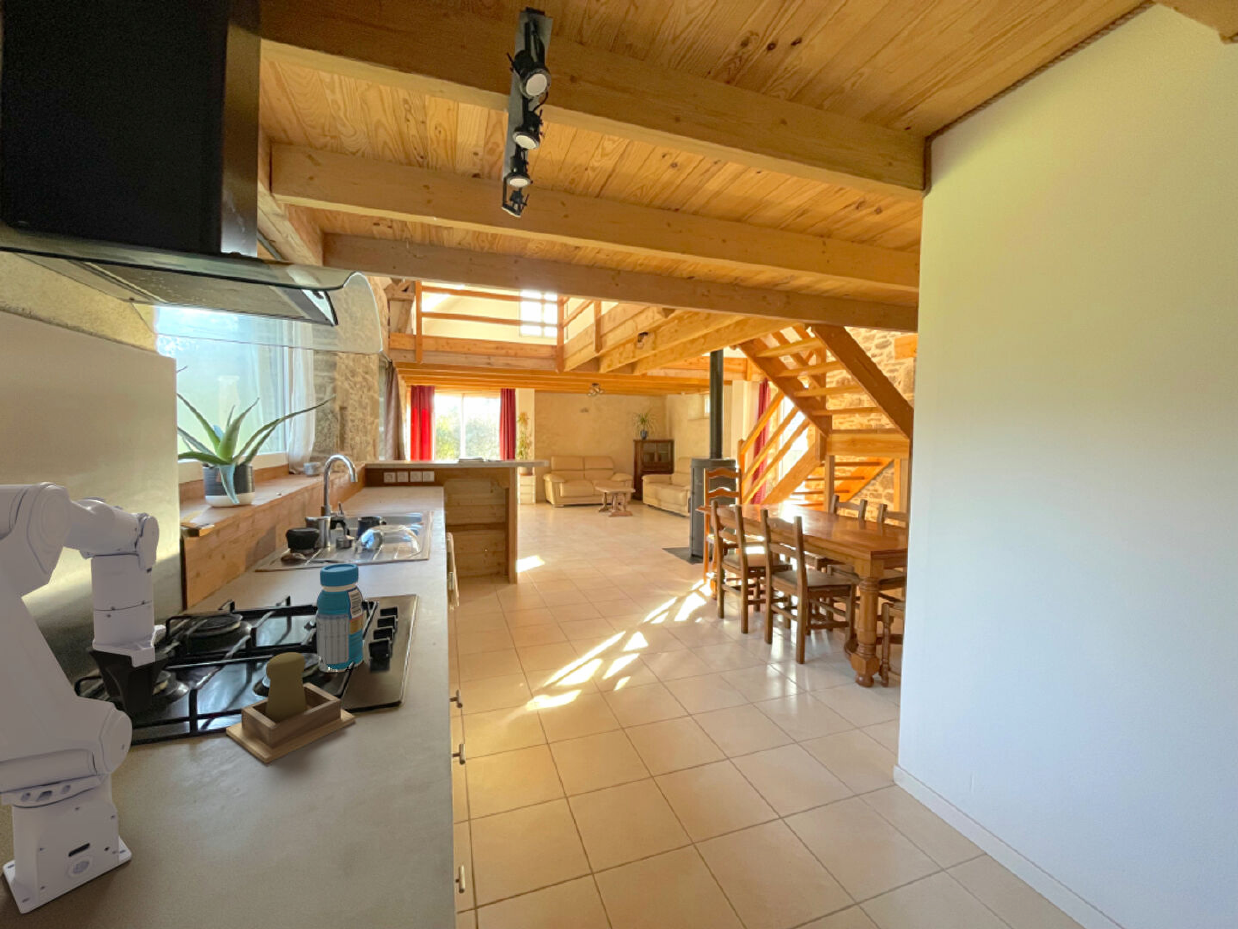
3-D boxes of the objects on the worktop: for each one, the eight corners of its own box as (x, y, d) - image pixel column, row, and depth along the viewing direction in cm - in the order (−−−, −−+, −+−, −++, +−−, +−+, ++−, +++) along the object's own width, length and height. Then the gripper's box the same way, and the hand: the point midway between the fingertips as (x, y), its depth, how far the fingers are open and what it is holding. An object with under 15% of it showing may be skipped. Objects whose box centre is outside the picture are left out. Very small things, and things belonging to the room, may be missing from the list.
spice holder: (355, 721, 83) (354, 698, 83) (265, 764, 72) (265, 738, 72) (313, 697, 90) (313, 676, 90) (226, 733, 79) (225, 709, 79)
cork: (317, 714, 83) (317, 649, 82) (289, 736, 77) (288, 666, 76) (284, 711, 84) (283, 646, 83) (253, 732, 78) (252, 662, 77)
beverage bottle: (320, 679, 96) (319, 575, 95) (312, 662, 103) (311, 565, 102) (368, 667, 102) (367, 568, 101) (358, 652, 108) (357, 559, 107)
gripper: (183, 606, 67) (187, 705, 68) (144, 584, 74) (148, 674, 75) (109, 623, 61) (114, 732, 62) (75, 597, 68) (80, 694, 69)
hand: (128, 701), depth 68 cm, fingers open, 7 cm apart
